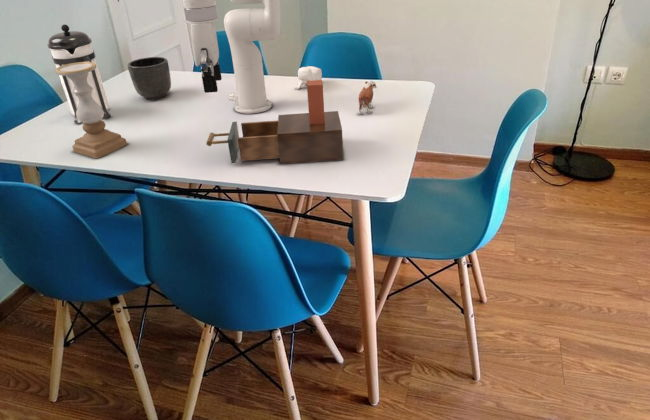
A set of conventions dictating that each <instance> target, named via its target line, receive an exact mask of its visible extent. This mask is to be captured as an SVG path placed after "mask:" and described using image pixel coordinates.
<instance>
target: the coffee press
mask: <svg viewBox="0 0 650 420" xmlns="http://www.w3.org/2000/svg"><path fill="white" fill-rule="evenodd" d="M60 29H61V31H63V32H58V33H55V34H53V35H52V36H50V37H49V39H48V43H47V48H48V50H50V53H51V58H52V61H53V64H54V65H55V67H56V68H58V67H60V66H63V65H66V64H71V63H77V62H93V63H95V64H96V68H95V69H94V70H93V71H90V72H88V76H87V82H88V84H89V85H90V86H91V87H92V88H93V90H92V93H91V97H92V99H93V100H94V101H95V102H96V103H97V104H98V105H100V106H101V107H102V109H103V111H104V116H103V118H105V119H109V118H111V117H112V116H111V113H110V112H109V111H108V110H110V109H109V108H110V104H109V100H108V97H107V94H106V89H105V87H104V83H103V80H102V76H101V73H100V69H99V66H98V63H97V59H96V57H97V56H96V53H95V50H94V49H93V45H92V38H91V37H89V35H88V34H87V33H85V32H83V31H78V30H77V31H76V30H74V31H73V30H72V31H71V30H70V26H69V25H68V24H65V23H64V24H62V25H61V27H60ZM56 68H55V69H56ZM58 77H59V80H60V82H61V86H62V89H63V93H64V95H65V98H66V101H67V104H68V106H69V110H70V113H71V114H72V115H73V116H74V119H73V122H74V124H78V125H79V124H81V123H82V122H81V121H79V120H78V119H77V117H76V111H77V107H78V104H79V98H78V97H77V96H76V95H75V94H74V93H73V89H74V83H73V82H72V80H70V79H69V78H68V77H67V76H62V75H58Z"/></svg>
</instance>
